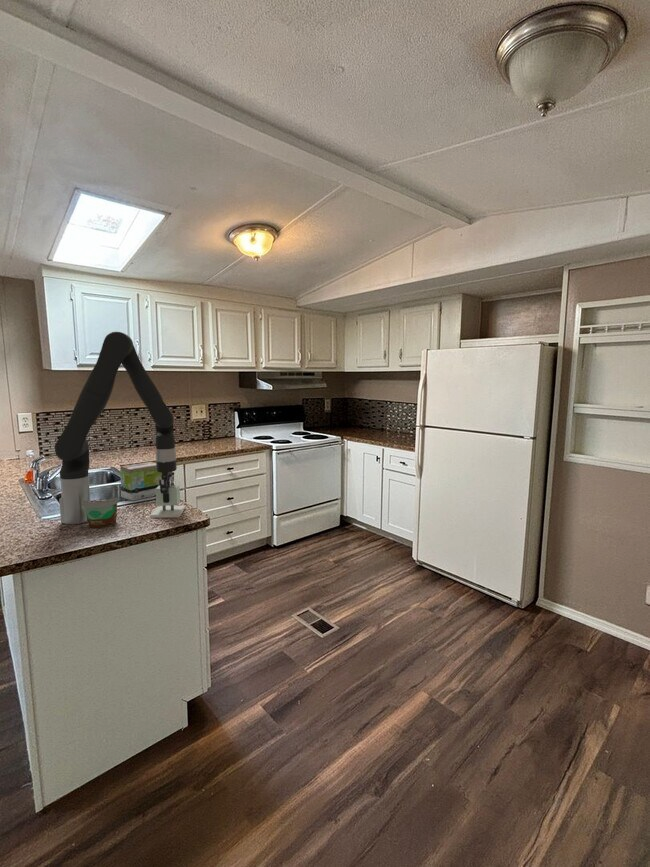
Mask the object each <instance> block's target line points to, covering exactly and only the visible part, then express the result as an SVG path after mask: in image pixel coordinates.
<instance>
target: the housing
mask: <svg viewBox="0 0 650 867" xmlns="http://www.w3.org/2000/svg"><path fill="white" fill-rule="evenodd" d="M167 486H168V485H167ZM180 487H181V486H180V484H174V485H171V487H170V488H169V502H168V503H164V502H163V494H162V493H161V491H160V486H158V487H157V488H156V496H155V502H156V503H155V504H156V505H155V506H156V507H158V506H171V505H174V506H179V504H180V503H181V494H180V493H181V490H180ZM164 490H166V489H165V488H164Z"/></svg>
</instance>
